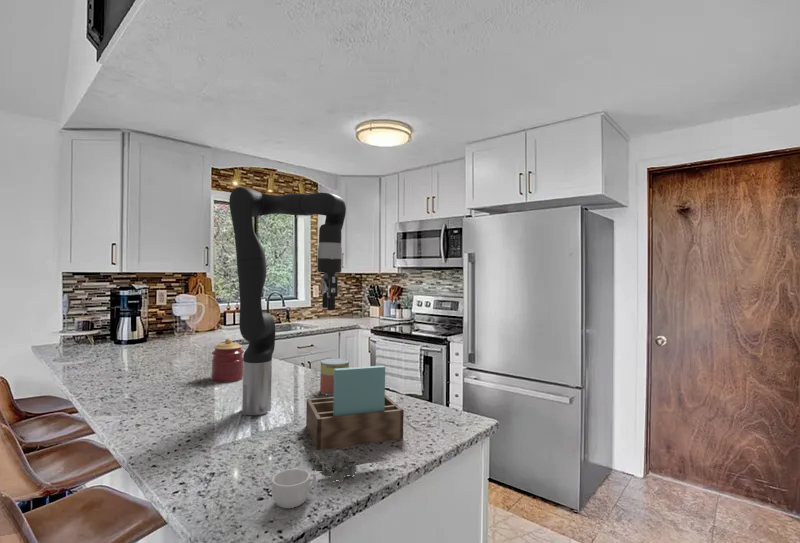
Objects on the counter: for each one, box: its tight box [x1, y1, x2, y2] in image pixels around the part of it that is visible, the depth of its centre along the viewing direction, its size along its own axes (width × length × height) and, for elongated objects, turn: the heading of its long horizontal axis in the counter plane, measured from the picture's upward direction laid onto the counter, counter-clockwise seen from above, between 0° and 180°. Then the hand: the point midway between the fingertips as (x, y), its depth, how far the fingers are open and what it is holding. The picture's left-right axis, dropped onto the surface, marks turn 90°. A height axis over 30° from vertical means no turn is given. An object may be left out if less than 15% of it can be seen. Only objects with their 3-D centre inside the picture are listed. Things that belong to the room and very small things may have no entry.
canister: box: [210, 338, 245, 383], centre depth 185 cm, size 13×13×18 cm
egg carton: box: [312, 449, 360, 482], centre depth 102 cm, size 11×8×4 cm
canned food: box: [319, 357, 350, 396], centre depth 170 cm, size 11×11×12 cm
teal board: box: [332, 365, 386, 416], centre depth 117 cm, size 14×2×20 cm, turn 111°
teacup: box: [271, 467, 317, 509], centre depth 89 cm, size 10×8×5 cm
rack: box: [305, 394, 405, 451], centre depth 123 cm, size 24×18×10 cm
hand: (328, 309), depth 134 cm, fingers open, 8 cm apart
